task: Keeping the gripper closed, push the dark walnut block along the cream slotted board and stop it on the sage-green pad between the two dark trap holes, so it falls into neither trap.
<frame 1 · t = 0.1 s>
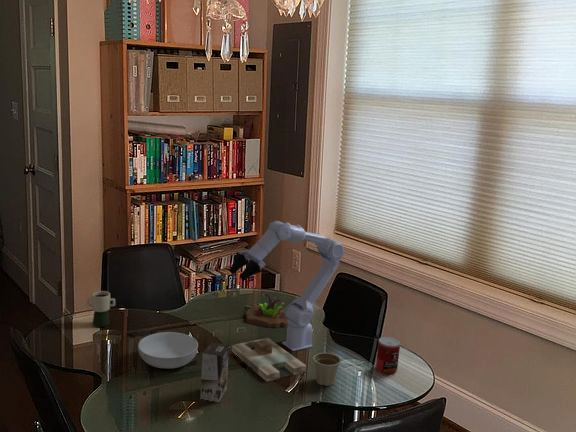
hand: (235, 275, 230), 32 cm above the table, tool tilted 50°, fingers open, 7 cm apart
flower pot: (325, 382, 225), on the table
serving bowl: (168, 362, 232), on the table
plant: (268, 319, 277), on the table
canned food: (386, 369, 237), on the table
cream slotted board: (267, 361, 237), on the table
walnut block: (263, 351, 239), point 2 cm above the table, touching cream slotted board
coffee box: (213, 395, 212), on the table
character mug: (101, 325, 259), on the table
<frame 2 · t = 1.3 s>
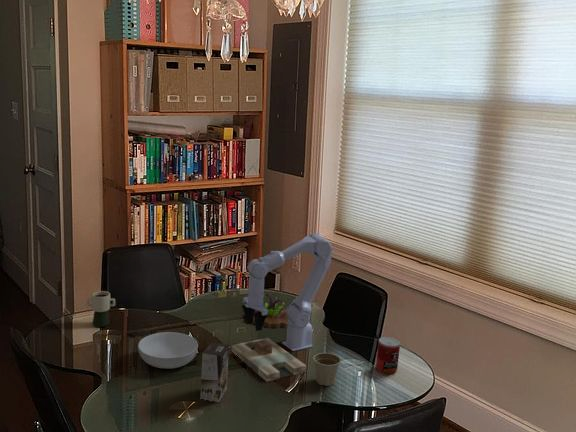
hand: (254, 326, 244), 9 cm above the table, tool pointing down, fingers open, 6 cm apart
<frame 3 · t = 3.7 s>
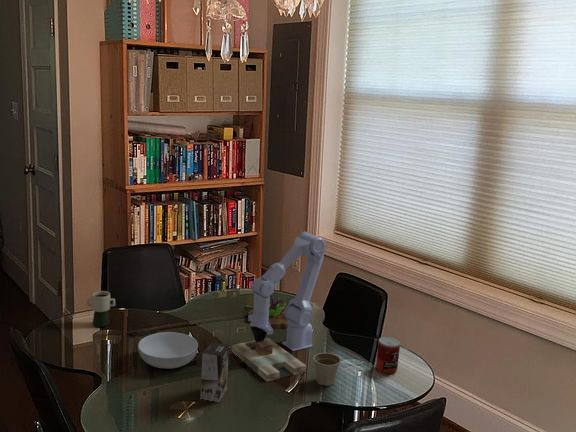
hand: (259, 345, 241), 4 cm above the table, tool pointing down, fingers closed
walnut block: (263, 352, 239), point 3 cm above the table, touching gripper
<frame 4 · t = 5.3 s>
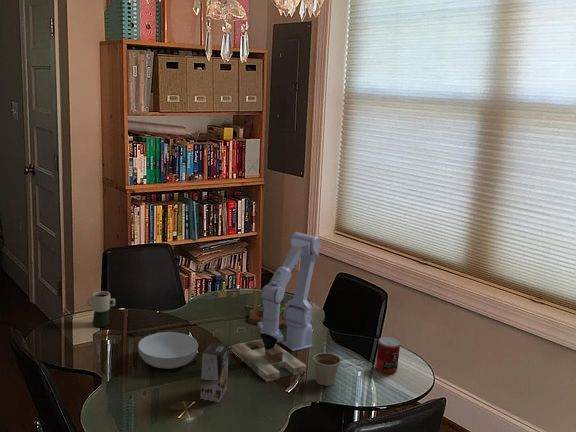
hand: (268, 352, 236), 4 cm above the table, tool pointing down, fingers closed
walnut block: (273, 359, 233), point 2 cm above the table, touching cream slotted board, gripper
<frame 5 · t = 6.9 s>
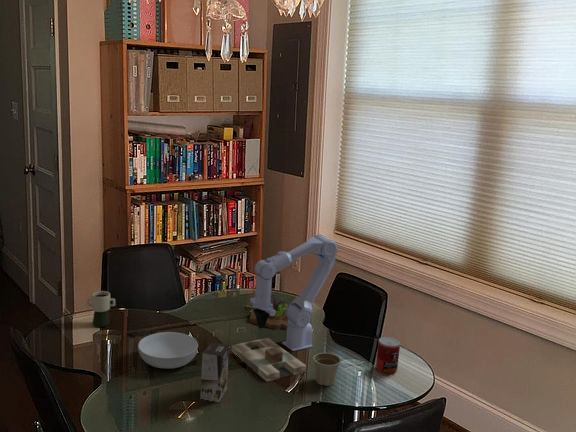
hand: (261, 327, 243), 9 cm above the table, tool pointing down, fingers closed
walnut block: (273, 360, 233), point 2 cm above the table, touching cream slotted board
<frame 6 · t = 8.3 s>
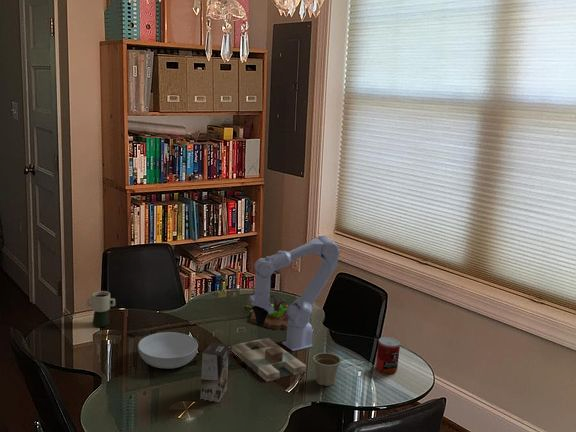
hand: (260, 324, 246), 9 cm above the table, tool pointing down, fingers closed
at the end: walnut block 0.3 cm from the target spot on the cream slotted board, point 2.5 cm above the cream slotted board's base; walnut block tilted 0°; the gripper is holding nothing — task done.
